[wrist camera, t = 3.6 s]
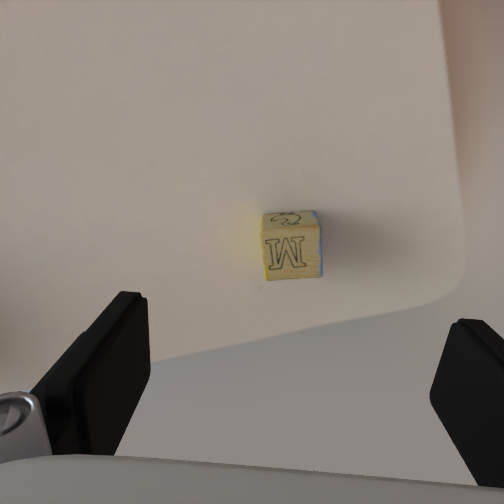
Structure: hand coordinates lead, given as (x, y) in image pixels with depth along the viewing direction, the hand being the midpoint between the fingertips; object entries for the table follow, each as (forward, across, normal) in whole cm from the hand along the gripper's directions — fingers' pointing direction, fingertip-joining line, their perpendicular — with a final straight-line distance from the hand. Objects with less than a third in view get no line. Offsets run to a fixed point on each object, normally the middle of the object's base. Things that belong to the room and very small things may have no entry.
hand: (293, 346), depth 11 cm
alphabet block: (+11, 0, 0) cm, 11 cm away
